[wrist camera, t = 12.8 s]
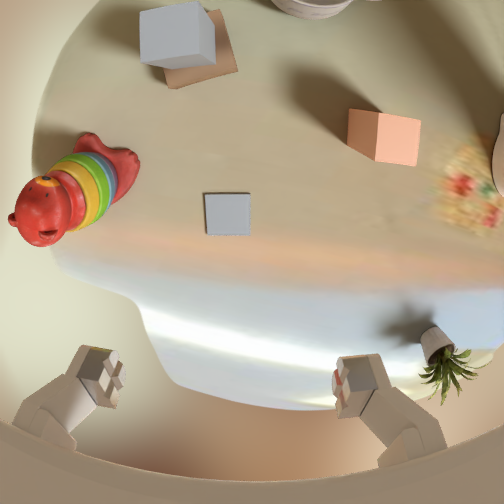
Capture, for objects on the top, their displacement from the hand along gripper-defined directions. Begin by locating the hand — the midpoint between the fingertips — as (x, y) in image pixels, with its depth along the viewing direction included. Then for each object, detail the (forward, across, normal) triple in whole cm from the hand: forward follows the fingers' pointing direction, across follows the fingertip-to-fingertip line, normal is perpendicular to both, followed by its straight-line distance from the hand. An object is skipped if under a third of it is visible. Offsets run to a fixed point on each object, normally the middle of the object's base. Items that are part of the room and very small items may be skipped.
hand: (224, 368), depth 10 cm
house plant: (+31, -39, +31) cm, 59 cm away
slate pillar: (+27, +6, -16) cm, 32 cm away
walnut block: (+32, +6, -15) cm, 36 cm away
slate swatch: (+31, +2, +7) cm, 32 cm away
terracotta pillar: (+31, -16, -6) cm, 35 cm away
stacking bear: (+31, +21, 0) cm, 38 cm away
